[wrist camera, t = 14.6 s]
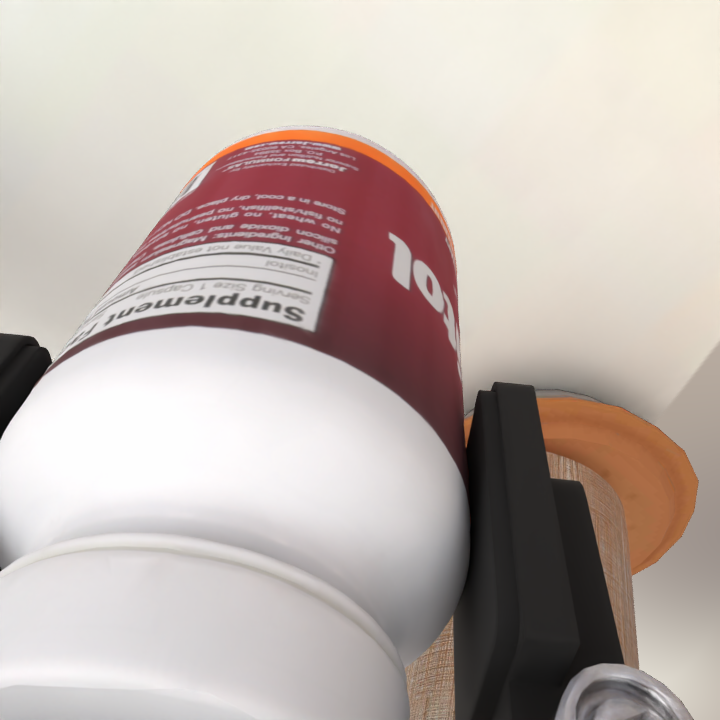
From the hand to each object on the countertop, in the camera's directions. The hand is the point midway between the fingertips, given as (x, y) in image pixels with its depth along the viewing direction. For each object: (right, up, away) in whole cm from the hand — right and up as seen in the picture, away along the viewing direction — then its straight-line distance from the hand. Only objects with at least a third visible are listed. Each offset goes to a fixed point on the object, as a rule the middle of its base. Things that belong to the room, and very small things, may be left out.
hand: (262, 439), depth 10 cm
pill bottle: (0, +4, +5) cm, 6 cm away
